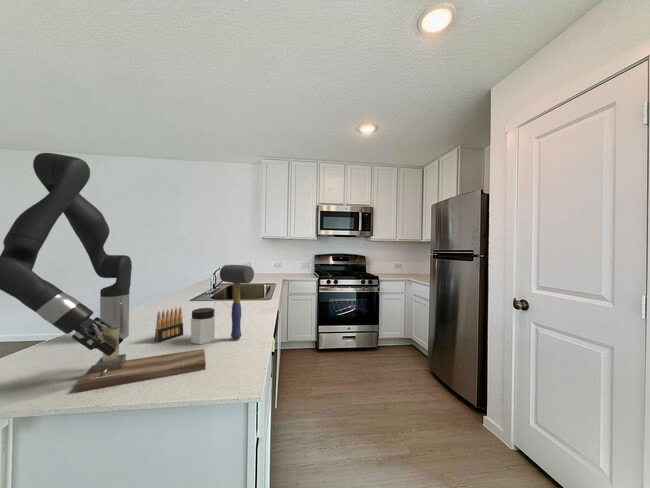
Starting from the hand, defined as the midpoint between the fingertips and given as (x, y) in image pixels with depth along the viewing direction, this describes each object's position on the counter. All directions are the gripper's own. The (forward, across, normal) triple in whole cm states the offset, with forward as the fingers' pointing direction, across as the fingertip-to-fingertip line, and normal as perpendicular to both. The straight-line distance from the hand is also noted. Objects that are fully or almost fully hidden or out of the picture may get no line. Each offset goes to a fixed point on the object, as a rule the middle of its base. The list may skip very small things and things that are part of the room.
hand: (117, 347), depth 78 cm
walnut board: (+11, -3, -1) cm, 12 cm away
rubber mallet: (+30, +14, -20) cm, 39 cm away
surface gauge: (+3, -2, +5) cm, 6 cm away
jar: (+22, +18, -11) cm, 31 cm away
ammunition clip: (+14, +26, -3) cm, 29 cm away
